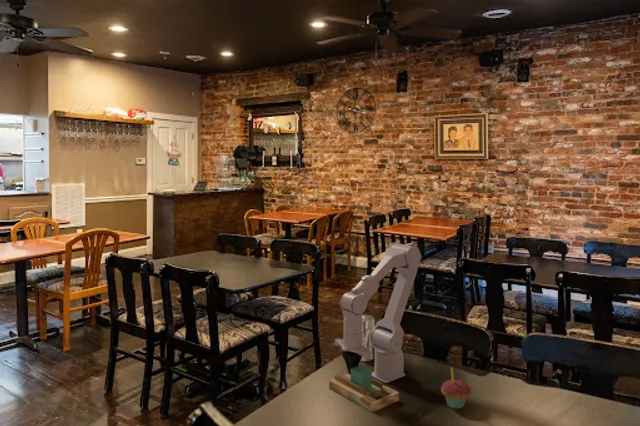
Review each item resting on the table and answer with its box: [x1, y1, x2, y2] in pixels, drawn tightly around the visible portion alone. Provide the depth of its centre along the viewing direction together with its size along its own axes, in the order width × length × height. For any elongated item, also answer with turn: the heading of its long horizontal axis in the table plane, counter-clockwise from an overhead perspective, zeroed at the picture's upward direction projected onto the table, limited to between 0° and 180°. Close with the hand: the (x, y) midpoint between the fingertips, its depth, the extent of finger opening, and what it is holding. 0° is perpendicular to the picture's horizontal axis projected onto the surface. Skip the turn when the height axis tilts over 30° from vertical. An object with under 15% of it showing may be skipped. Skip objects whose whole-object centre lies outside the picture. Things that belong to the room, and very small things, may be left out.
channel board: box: [328, 373, 400, 413], centre depth 154 cm, size 11×19×4 cm, turn 39°
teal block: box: [351, 364, 373, 389], centre depth 155 cm, size 4×5×5 cm
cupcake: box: [440, 366, 472, 410], centre depth 148 cm, size 9×8×12 cm
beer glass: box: [360, 314, 376, 363], centre depth 181 cm, size 7×7×15 cm
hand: (352, 374), depth 158 cm, fingers closed
